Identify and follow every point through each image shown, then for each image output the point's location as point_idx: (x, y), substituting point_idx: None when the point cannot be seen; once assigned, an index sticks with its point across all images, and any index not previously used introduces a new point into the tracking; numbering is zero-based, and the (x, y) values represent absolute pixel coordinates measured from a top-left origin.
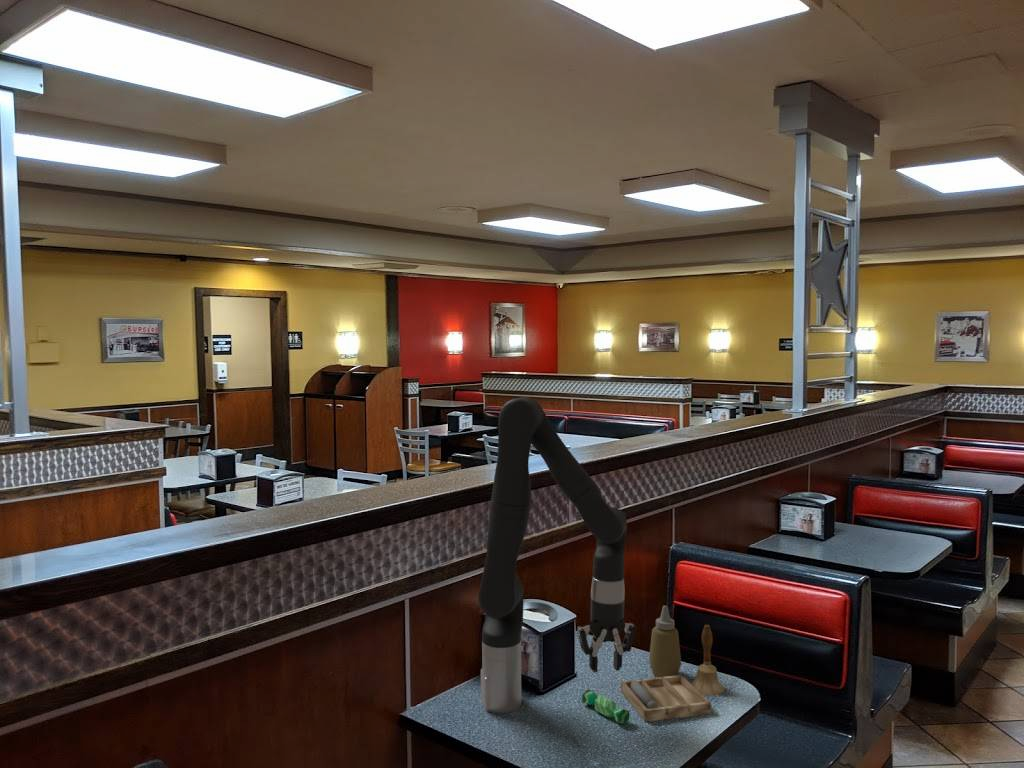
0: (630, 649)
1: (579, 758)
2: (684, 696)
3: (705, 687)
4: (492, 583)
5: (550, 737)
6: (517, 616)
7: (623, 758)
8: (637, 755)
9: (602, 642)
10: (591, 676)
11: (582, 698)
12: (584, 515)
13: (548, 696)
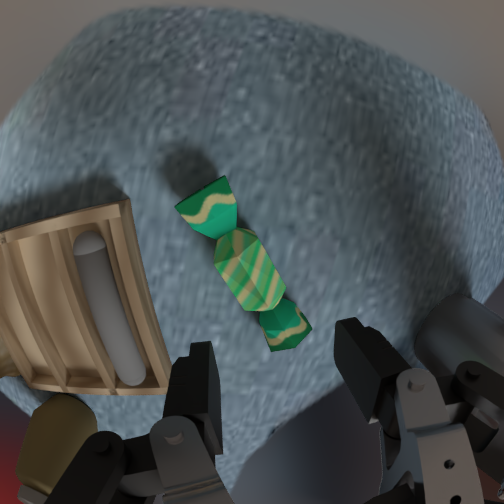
0: (87, 442)
1: (367, 46)
2: (21, 313)
3: None
4: None
5: (416, 155)
6: None
7: (256, 15)
8: (212, 21)
9: (424, 478)
10: (237, 430)
11: (308, 322)
12: None
13: None
